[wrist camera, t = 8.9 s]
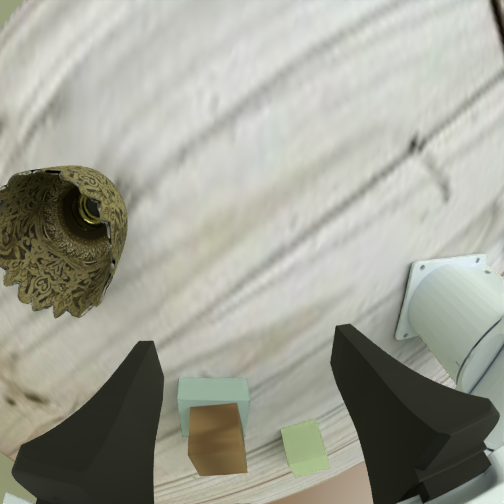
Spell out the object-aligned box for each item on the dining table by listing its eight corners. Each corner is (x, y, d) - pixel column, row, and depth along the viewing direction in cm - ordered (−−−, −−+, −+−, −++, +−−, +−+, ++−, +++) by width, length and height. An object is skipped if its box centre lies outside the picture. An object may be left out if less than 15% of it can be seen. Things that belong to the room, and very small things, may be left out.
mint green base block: (246, 375, 27) (249, 400, 24) (242, 414, 29) (245, 437, 26) (179, 374, 26) (177, 398, 23) (183, 413, 28) (182, 436, 26)
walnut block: (237, 402, 24) (241, 451, 19) (242, 427, 26) (247, 472, 21) (190, 406, 24) (187, 454, 19) (200, 431, 25) (199, 476, 21)
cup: (117, 273, 21) (78, 344, 14) (39, 219, 19) (-25, 267, 12) (171, 189, 19) (142, 232, 12) (82, 129, 17) (12, 140, 10)
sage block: (315, 418, 30) (326, 454, 26) (320, 434, 32) (330, 467, 27) (280, 428, 30) (288, 465, 26) (287, 443, 32) (295, 477, 28)
